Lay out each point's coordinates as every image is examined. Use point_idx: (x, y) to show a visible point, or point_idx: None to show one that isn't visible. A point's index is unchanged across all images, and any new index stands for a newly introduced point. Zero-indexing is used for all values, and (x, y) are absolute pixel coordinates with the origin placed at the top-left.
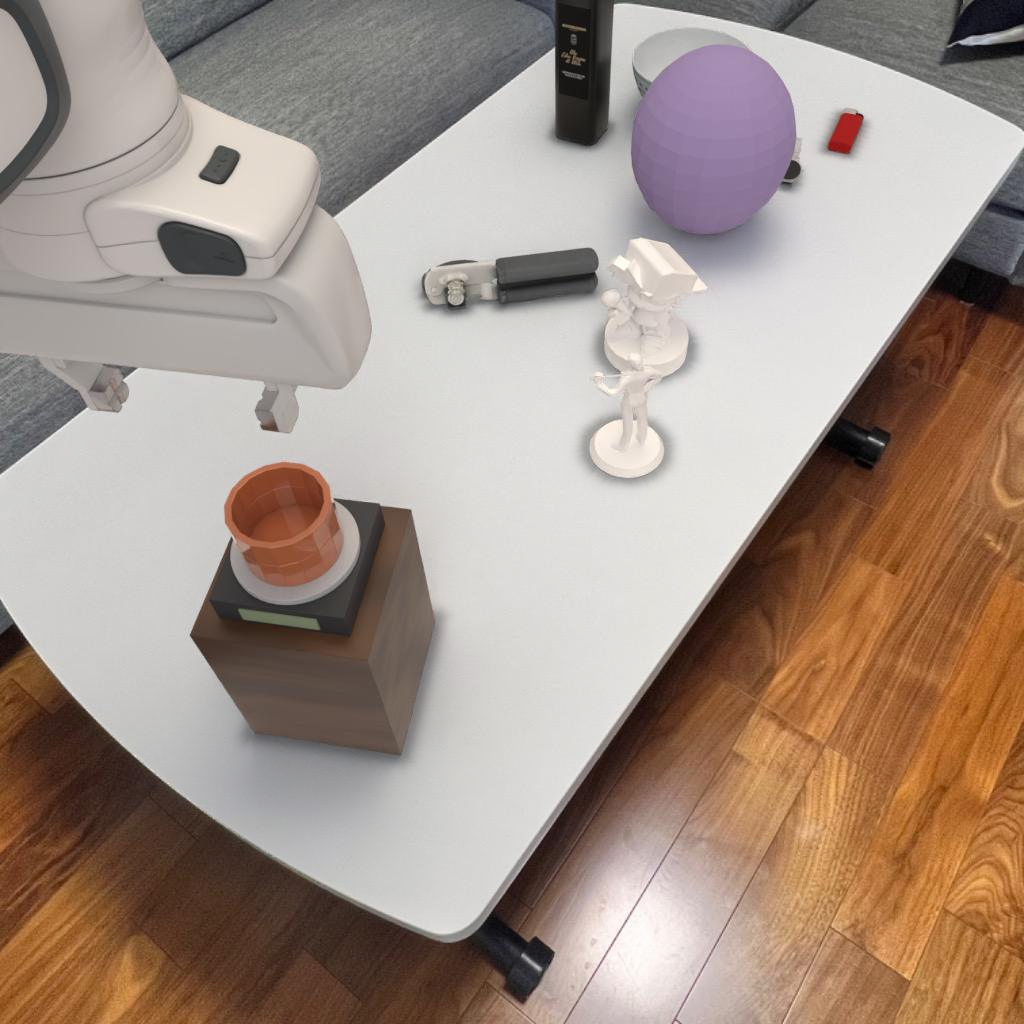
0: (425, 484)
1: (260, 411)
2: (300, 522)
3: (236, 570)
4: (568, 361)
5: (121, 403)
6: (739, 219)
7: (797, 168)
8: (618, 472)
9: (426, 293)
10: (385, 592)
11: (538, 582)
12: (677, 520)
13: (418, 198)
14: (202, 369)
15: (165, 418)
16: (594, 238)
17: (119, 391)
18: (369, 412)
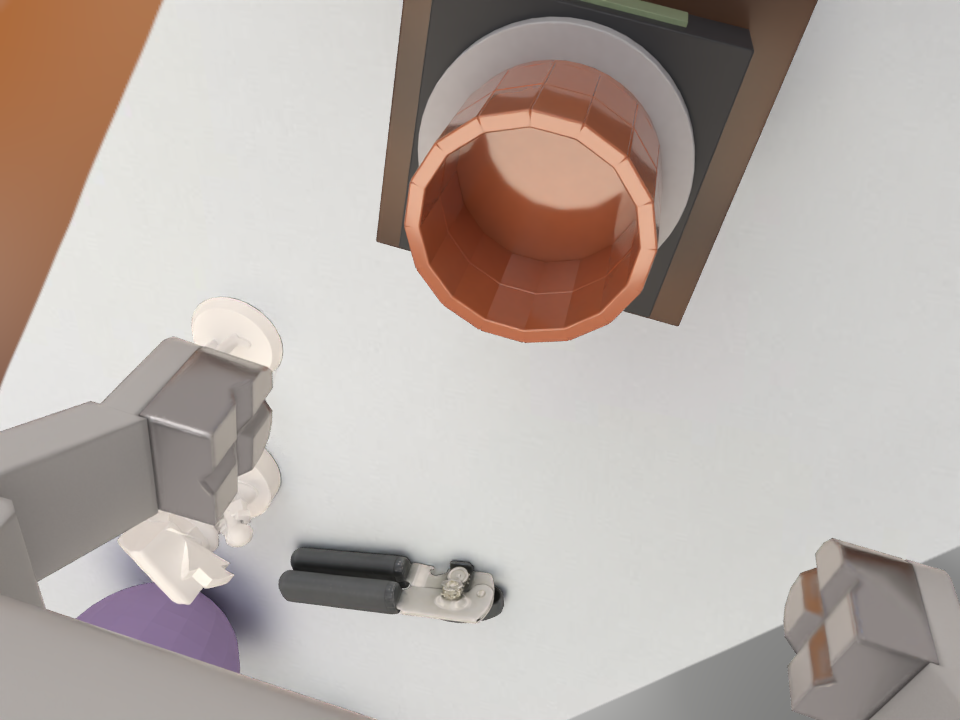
0: None
1: (185, 427)
2: (536, 218)
3: (679, 117)
4: (320, 467)
5: (818, 568)
6: (121, 593)
7: None
8: (239, 306)
9: (493, 590)
10: (398, 61)
11: (327, 156)
12: (161, 227)
13: (515, 701)
14: (124, 702)
15: (879, 498)
16: (307, 607)
17: (811, 618)
18: (573, 449)
